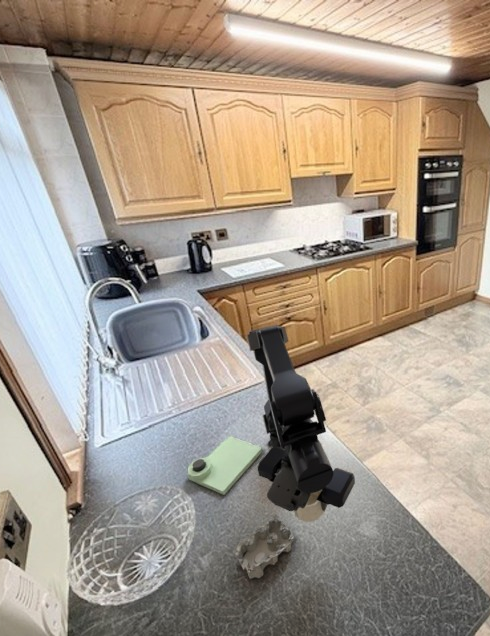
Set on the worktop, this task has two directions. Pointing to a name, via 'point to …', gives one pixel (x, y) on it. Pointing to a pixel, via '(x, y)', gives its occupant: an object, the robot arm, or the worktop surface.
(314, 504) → the cup
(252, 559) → the egg carton
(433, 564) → the worktop surface
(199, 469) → the button
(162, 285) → the worktop surface
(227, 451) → the scale
